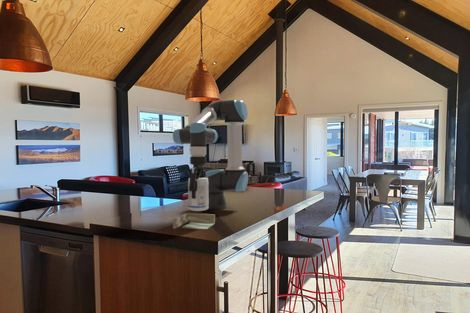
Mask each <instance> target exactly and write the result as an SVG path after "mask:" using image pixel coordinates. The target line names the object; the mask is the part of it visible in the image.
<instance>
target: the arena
mask: <svg viewBox="0 0 470 313" xmlns="http://www.w3.org/2000/svg"><path fill="white" fill-rule="evenodd" d="M186 223H187V224H186ZM215 224H216V214H215V213H214V214H212V213H211V214H210V213H191V212H185V213H183V214H181V215H179V216H177V217H176V218H173V219H172V229H177V228H179V227H181V226H182V227H181V228H182V229H192V230H193V229H194V230H208V229H210V228H211V227H213V226H214V225H215Z"/></svg>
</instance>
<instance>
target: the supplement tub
mask: <svg viewBox="0 0 470 313" xmlns="http://www.w3.org/2000/svg"><path fill="white" fill-rule="evenodd" d="M196 181H197V198H198V206H191V191H189V184H190V177H188V181H187V191H188V192H187V193H188V194H187V195H188V196H187V200H188V201H187V203H188V204H187V205H188V206H187V208H188V210H190V211H193V212H202V211H206V210H207V211H208V210H209V209H208V208H209V190H208V178H199V179H196Z"/></svg>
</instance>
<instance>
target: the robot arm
mask: <svg viewBox="0 0 470 313" xmlns="http://www.w3.org/2000/svg"><path fill="white" fill-rule="evenodd" d="M248 114H249V113H248V107H247V104H246V103H245V101H244V100H242V99H232V100H231V99H230V100H228V99H227V100H218V101H215V102H213V103H211V104H209V105H207V106H205V107H204V109H202V110H201V113H200V114H199V115H197V116H196V117H194V119H193V120H191V121H190V122H189V123H187V124H186V126H184V127H182V128H178V129H175V130H174V131H173V133H172V140H173V142H174V143H175V144H178V145H179V144H180V145H188V144H189V155H190V157H189V163H190V165H193V167H192V168H190V169H189V170H190V172H189V173H190V177H189V178H190V184H189V191H191V206H198V198H197V181H196V179H199V178H208V190H209V208H208V209H207V210H224V209H226V208H228V206H227V205H228V204H227V201H226V196H225V192H226V191H227V192H244V191H245V190H246V188H248V187H247V186H248V183H249V173H248V172H247V171H246V169H245V167H244V166H243V139H242V138H243V135H242V133H243V130H242V129H243V126H244V124H245V121H246V120H247V119H248ZM217 121H224V124H225V125H226V126H227V129H226V130H227V131H226V134H227V137H226V140H227V166H226V168H225V169H224V168H222V169H212V170H207V171H206V166H204V165H206V164H207V144H208V145H211V144H215V143H216V142H217V141H218V138H219V135H218V132H217V130H215V129H213V128H208V126H209V125H210V124H212V123H214V122H217Z"/></svg>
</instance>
